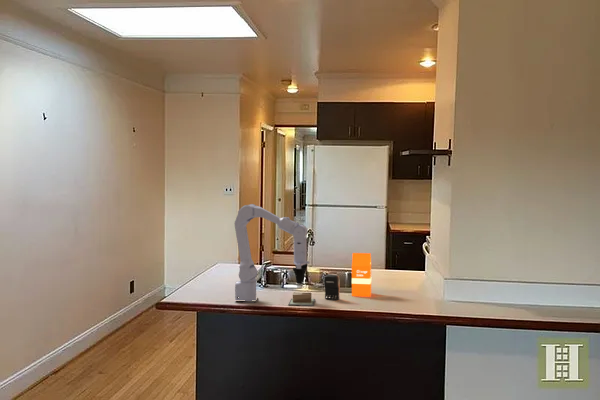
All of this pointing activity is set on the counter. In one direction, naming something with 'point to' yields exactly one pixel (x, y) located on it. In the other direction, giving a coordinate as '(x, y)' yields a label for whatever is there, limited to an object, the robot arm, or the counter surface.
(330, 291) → the black upright block
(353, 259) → the orange juice
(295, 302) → the mat
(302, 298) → the tan block
